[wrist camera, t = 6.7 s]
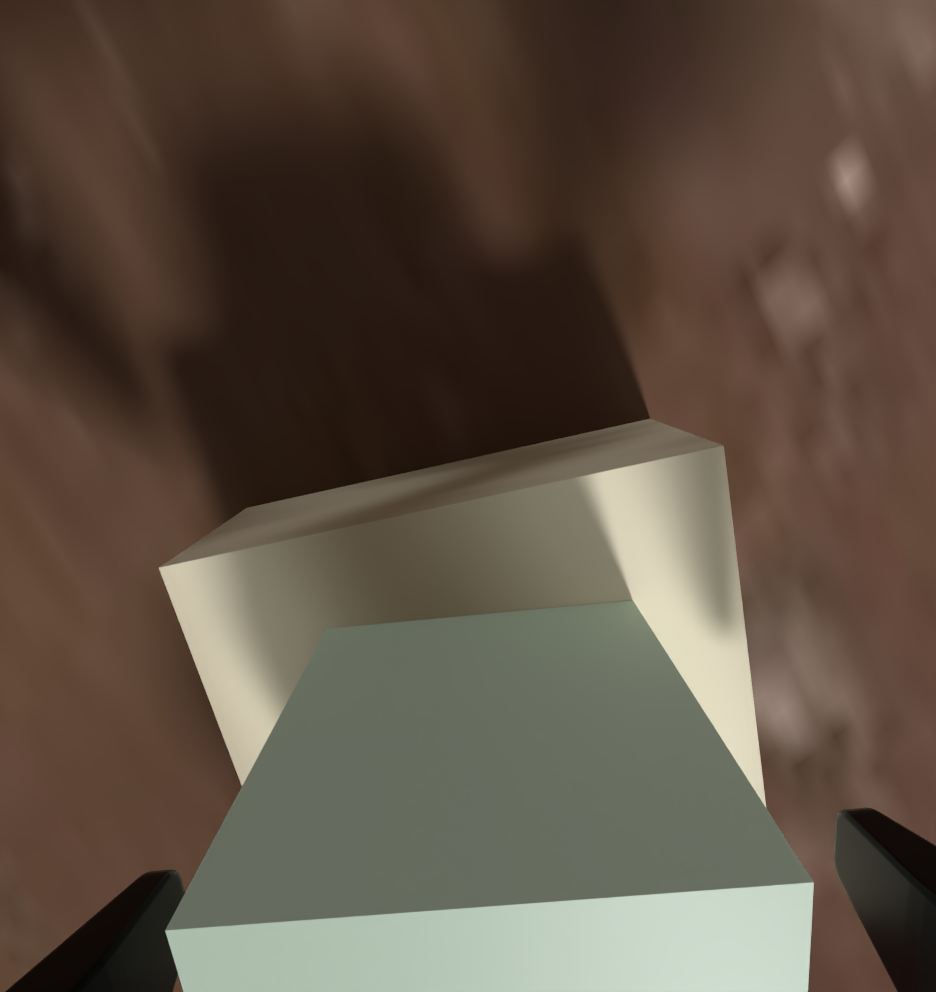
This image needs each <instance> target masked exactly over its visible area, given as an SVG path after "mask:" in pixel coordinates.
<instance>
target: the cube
mask: <svg viewBox="0 0 936 992" xmlns="http://www.w3.org/2000/svg"><path fill="white" fill-rule="evenodd" d="M813 888H814V882H813V880H812V879H811V877H810V876H809V874H808V873H807V871H806V870H805V868H804V866H803V865H802V863H801V862H800V860H799V859H798V857H797V855H796V854H795V852H794V851H793V849H792V848H791V846H790V845H789V843H788V841H787V840H786V838H785V837H784V835H783V834H782V832H781V830H780V829H779V827H778V826H777V824H776V823H775V821H774V820H773V818H772V816H771V815H770V813H769V812H768V810H767V809H766V807H765V806H764V804H763V802H762V801H761V799H760V798H759V796H758V795H757V793H756V791H755V790H754V788H753V787H752V785H751V784H750V782H749V781H748V779H747V777H746V776H745V774H744V773H743V771H742V770H741V768H740V767H739V765H738V763H737V762H736V760H735V759H734V757H733V756H732V754H731V752H730V751H729V749H728V748H727V746H726V745H725V743H724V742H723V740H722V738H721V737H720V735H719V734H718V732H717V731H716V729H715V728H714V726H713V724H712V723H711V721H710V720H709V718H708V717H707V715H706V713H705V712H704V710H703V709H702V707H701V706H700V704H699V703H698V701H697V699H696V698H695V696H694V695H693V693H692V692H691V690H690V689H689V687H688V685H687V684H686V682H685V681H684V679H683V678H682V676H681V674H680V673H679V671H678V670H677V668H676V667H675V665H674V664H673V662H672V660H671V659H670V657H669V656H668V654H667V653H666V651H665V649H664V648H663V646H662V645H661V643H660V642H659V640H658V639H657V637H656V635H655V634H654V632H653V631H652V629H651V628H650V626H649V625H648V623H647V621H646V620H645V618H644V617H643V615H642V614H641V612H640V610H639V609H638V607H637V606H636V604H635V603H634V601H633V600H629V601H618V602H608V603H597V604H586V605H575V606H565V607H554V608H543V609H532V610H522V611H511V612H500V613H489V614H479V615H468V616H457V617H446V618H436V619H425V620H414V621H403V622H393V623H382V624H371V625H360V626H349V627H339V628H328V629H326V630H325V632H324V634H323V636H322V638H321V640H320V642H319V643H318V645H317V647H316V649H315V651H314V653H313V655H312V657H311V658H310V660H309V662H308V664H307V666H306V668H305V670H304V672H303V673H302V675H301V677H300V679H299V681H298V683H297V685H296V687H295V688H294V690H293V692H292V694H291V696H290V698H289V700H288V701H287V703H286V705H285V707H284V709H283V711H282V713H281V715H280V716H279V718H278V720H277V722H276V724H275V726H274V728H273V730H272V731H271V733H270V735H269V737H268V739H267V741H266V743H265V744H264V746H263V748H262V750H261V752H260V754H259V756H258V758H257V759H256V761H255V763H254V765H253V767H252V769H251V771H250V773H249V774H248V776H247V778H246V780H245V782H244V784H243V786H242V788H241V789H240V791H239V793H238V795H237V797H236V799H235V801H234V802H233V804H232V806H231V808H230V810H229V812H228V814H227V816H226V817H225V819H224V821H223V823H222V825H221V827H220V829H219V831H218V832H217V834H216V836H215V838H214V840H213V842H212V844H211V845H210V847H209V849H208V851H207V853H206V855H205V857H204V859H203V860H202V862H201V864H200V866H199V868H198V870H197V872H196V874H195V875H194V877H193V879H192V881H191V883H190V885H189V887H188V889H187V890H186V892H185V894H184V896H183V898H182V900H181V902H180V903H179V905H178V907H177V909H176V911H175V913H174V915H173V917H172V918H171V920H170V922H169V924H168V926H167V928H166V930H165V932H166V935H167V939H168V942H169V945H170V949H171V952H172V955H173V958H174V962H175V965H176V968H177V972H178V975H179V978H180V981H181V985H182V988H183V991H184V992H808V981H809V962H810V943H811V925H812V906H813Z"/></svg>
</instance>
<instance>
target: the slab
mask: <svg viewBox="0 0 936 992" xmlns="http://www.w3.org/2000/svg"><path fill="white" fill-rule="evenodd" d="M159 570H160V572H161V575H162V577H163V580H164V583H165V585H166V588H167V591H168V593H169V596H170V599H171V601H172V604H173V606H174V609H175V612H176V614H177V617H178V620H179V622H180V625H181V627H182V630H183V633H184V635H185V638H186V641H187V643H188V646H189V648H190V651H191V654H192V656H193V659H194V662H195V664H196V667H197V669H198V672H199V675H200V677H201V680H202V683H203V685H204V688H205V690H206V693H207V696H208V698H209V701H210V704H211V706H212V709H213V711H214V714H215V717H216V719H217V722H218V725H219V727H220V730H221V732H222V735H223V738H224V740H225V743H226V746H227V748H228V751H229V754H230V756H231V759H232V761H233V764H234V767H235V769H236V772H237V775H238V777H239V780H240V782H241V785H242V786H243V784H244V782H245V780H246V778H247V776H248V774H249V773H250V771H251V769H252V767H253V765H254V763H255V761H256V759H257V758H258V756H259V754H260V752H261V750H262V748H263V746H264V744H265V743H266V741H267V739H268V737H269V735H270V733H271V731H272V730H273V728H274V726H275V724H276V722H277V720H278V718H279V716H280V715H281V713H282V711H283V709H284V707H285V705H286V703H287V701H288V700H289V698H290V696H291V694H292V692H293V690H294V688H295V687H296V685H297V683H298V681H299V679H300V677H301V675H302V673H303V672H304V670H305V668H306V666H307V664H308V662H309V660H310V658H311V657H312V655H313V653H314V651H315V649H316V647H317V645H318V643H319V642H320V640H321V638H322V636H323V634H324V632H325V630H326V629H328V628H339V627H349V626H360V625H371V624H382V623H393V622H403V621H414V620H425V619H436V618H446V617H457V616H468V615H479V614H489V613H500V612H511V611H522V610H532V609H543V608H554V607H565V606H575V605H586V604H597V603H608V602H618V601H629V600H633V601H634V603H635V604H636V606H637V607H638V609H639V610H640V612H641V614H642V615H643V617H644V618H645V620H646V621H647V623H648V625H649V626H650V628H651V629H652V631H653V632H654V634H655V635H656V637H657V639H658V640H659V642H660V643H661V645H662V646H663V648H664V649H665V651H666V653H667V654H668V656H669V657H670V659H671V660H672V662H673V664H674V665H675V667H676V668H677V670H678V671H679V673H680V674H681V676H682V678H683V679H684V681H685V682H686V684H687V685H688V687H689V689H690V690H691V692H692V693H693V695H694V696H695V698H696V699H697V701H698V703H699V704H700V706H701V707H702V709H703V710H704V712H705V713H706V715H707V717H708V718H709V720H710V721H711V723H712V724H713V726H714V728H715V729H716V731H717V732H718V734H719V735H720V737H721V738H722V740H723V742H724V743H725V745H726V746H727V748H728V749H729V751H730V752H731V754H732V756H733V757H734V759H735V760H736V762H737V763H738V765H739V767H740V768H741V770H742V771H743V773H744V774H745V776H746V777H747V779H748V781H749V782H750V784H751V785H752V787H753V788H754V790H755V791H756V793H757V795H758V796H759V798H760V799H761V801H762V802H763V804H764V806H765V807H766V802H765V794H764V785H763V777H762V768H761V760H760V751H759V743H758V734H757V726H756V717H755V709H754V700H753V692H752V683H751V674H750V666H749V657H748V649H747V640H746V632H745V623H744V615H743V606H742V598H741V589H740V581H739V572H738V564H737V555H736V547H735V538H734V529H733V521H732V512H731V504H730V495H729V487H728V478H727V470H726V461H725V453H724V446H723V445H720V444H718V443H715V442H712V441H710V440H707V439H704V438H701V437H699V436H696V435H693V434H691V433H688V432H685V431H682V430H680V429H677V428H674V427H671V426H669V425H666V424H663V423H661V422H658V421H655V420H652V419H646V420H642V421H637V422H633V423H628V424H624V425H619V426H615V427H610V428H606V429H601V430H597V431H592V432H588V433H583V434H579V435H574V436H569V437H565V438H560V439H556V440H551V441H547V442H542V443H538V444H533V445H529V446H524V447H520V448H515V449H511V450H506V451H502V452H497V453H493V454H488V455H484V456H479V457H475V458H470V459H466V460H461V461H457V462H452V463H448V464H443V465H438V466H434V467H429V468H425V469H420V470H416V471H411V472H407V473H402V474H398V475H393V476H389V477H384V478H380V479H375V480H371V481H366V482H362V483H357V484H353V485H348V486H344V487H339V488H335V489H330V490H326V491H321V492H317V493H312V494H307V495H303V496H298V497H294V498H289V499H285V500H280V501H276V502H271V503H267V504H262V505H258V506H253V507H249V508H246V509H244V510H243V511H241V512H240V513H238V514H237V515H235V516H234V517H233V518H231V519H230V520H228V521H227V522H225V523H224V524H222V525H221V526H219V527H218V528H216V529H215V530H213V531H212V532H211V533H209V534H208V535H206V536H205V537H203V538H202V539H200V540H199V541H197V542H196V543H194V544H193V545H191V546H190V547H188V548H187V549H186V550H184V551H183V552H181V553H180V554H178V555H177V556H175V557H174V558H172V559H171V560H169V561H168V562H166V563H165V564H163V565H162V566H161V567H159Z"/></svg>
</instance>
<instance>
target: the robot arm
mask: <svg viewBox="0 0 936 992" xmlns="http://www.w3.org/2000/svg"><path fill="white" fill-rule="evenodd" d="M834 862H835V867H836V871H837V874H838V876H839V879H840V881H841V883H842V885H843V887H844V889H845V891H846V893H847V895H848V897H849V899H850V901H851V903H852V904H853V906H854V908H855V910H856V912H857V914H858V916H859V918H860V920H861V922H862V924H863V926H864V928H865V930H866V932H867V934H868V936H869V937H870V939H871V941H872V943H873V945H874V947H875V949H876V951H877V953H878V955H879V957H880V959H881V961H882V963H883V965H884V967H885V968H886V970H887V972H888V974H889V976H890V978H891V980H892V982H893V984H894V986H895V988H896V990H897V992H936V846H935V845H934V844H932V843H930V842H929V841H927V840H925V839H924V838H922V837H920V836H919V835H917V834H915V833H914V832H912V831H910V830H909V829H907V828H905V827H904V826H902V825H900V824H899V823H897V822H895V821H894V820H892V819H890V818H889V817H887V816H885V815H884V814H882V813H880V812H878V811H876V810H874V809H871V808H858V809H846V810H842V811H840V812H839V813H838V815H837V818H836V831H835V851H834ZM184 894H185V891H184V887H183V884H182V881H181V877H180V875H179V874H178V873H177V872H176V871H175V870H162V871H151V872H147V873H145V874H143V875H142V876H140V877H139V878H138V879H137V880H135V881H134V882H133V883H132V884H131V885H130V886H128V887H127V888H126V889H125V890H124V891H123V892H121V893H120V894H119V895H118V896H117V897H115V898H114V899H113V900H112V901H111V902H110V903H108V904H107V905H106V906H105V907H104V908H103V909H101V910H100V911H99V912H98V913H97V914H96V915H94V916H93V917H92V918H91V919H90V920H89V921H87V922H86V923H85V924H84V925H83V926H82V927H80V928H79V929H78V930H77V931H76V932H75V933H73V934H72V935H71V936H70V937H69V938H68V939H66V940H65V941H64V942H63V943H62V944H60V945H59V946H58V947H57V948H56V949H55V950H53V951H52V952H51V953H50V954H49V955H48V956H46V957H45V958H44V959H43V960H42V961H41V962H39V963H38V964H37V965H36V966H35V967H34V968H32V969H31V970H30V971H29V972H28V973H27V974H25V975H24V976H23V977H22V978H21V979H20V980H18V981H17V982H16V983H15V984H14V985H13V986H11V987H10V988H9V989H8V990H7V991H6V992H173V988H174V985H175V982H176V979H177V976H178V972H177V968H176V965H175V962H174V958H173V955H172V952H171V949H170V945H169V942H168V939H167V935H166V932H165V930H166V928H167V926H168V924H169V922H170V920H171V918H172V917H173V915H174V913H175V911H176V909H177V907H178V905H179V903H180V902H181V900H182V898H183V896H184Z"/></svg>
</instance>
